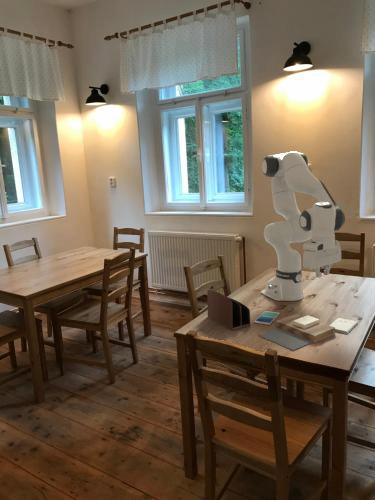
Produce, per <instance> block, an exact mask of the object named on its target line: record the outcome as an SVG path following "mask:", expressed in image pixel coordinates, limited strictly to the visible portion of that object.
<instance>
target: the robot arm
mask: <svg viewBox="0 0 375 500" xmlns="http://www.w3.org/2000/svg"><path fill="white" fill-rule="evenodd" d="M308 166H309V162H308V157H307V155H306V154H305V153H303V152H298V151H294V150H293V151H290V152H284V153H277V154H269V155H267V156H265V157H264V158H263V160H262V163H261V170H262V172H263V175H264V176H265V177H267V178H271V185H270V186H271V188H270V189H271V197H272V203H273V210H274V211H275V213H276V214H277V215H280V216H282V217H283V218H284V219H285V220H284V221H275V222H272V223H269V224H267V225H266V226H265V227H264V229H263V238H264V239H265V241H266V242H267V243H268V244H269V245H271V246H272V247H273V249H274V250H275V252H276V255H277V269H275V270H274V273H275V276H273V277H272V278H271V279H269V280H267V282H266V285H265V289H262V290H261V291H260V292H261V295H264V296H266V297H268V298H270V299H273V300H275V301H278V302H279V301H286V302H294V301H300V300H303V299H304V298H305V295H304V290H303V283H302V277H303V276H302V275H303V272H302V271H303V270H302V266H303V268H304V269H306V270H314V272H315V277H316V278H319V279H320V278H322V276H323V275H324V276H328V275H330V270H331V268H332V265H333V264H335V263H339V262H341V260H342V247H341V245H340V241H339V240H337V239H336V233H335V232H337V231H339V230H341V228H342V227H344V225H345V222H346V216H345V212H344V211H343V210H342V209H341V207H339V205H338V204H337V203H336V201H335V200H334V198H333V196H332V195H331V194H330V192H329V190H328V188H327V187H326V186H325V184H324V183H323V181H322V180H321V179H319V178H317V177H316V176H315V175H314V174H313V173H312V172H311V171H310V169H309V167H308ZM296 192H297V193H301V194H306V195H310V196H312V197H314V198H316V199H317V200H318V202H316V203H314V204H313V206H312V207H310V208H308V209H304V210H303V211H302V212H301V211H300V209H299V207H298V203H297V202H298V201H297V199H296ZM293 243H294V244H295V243H304V244H303V245H302V248H303V250H304V251H303V255H302V256H301V254H300V253H299V252H298V251H297V250H295V249H293V248H292V247H291V244H293ZM321 267H325V269H324V270H323V273H322V272H321V271H320V270H321ZM274 273H273V274H274Z"/></svg>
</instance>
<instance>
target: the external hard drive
mask: <svg viewBox="0 0 375 500" xmlns="http://www.w3.org/2000/svg"><path fill="white" fill-rule="evenodd" d="M358 324H359V323H358V321H357V320H352V319H346V318H341V317H337V318H336V319H335V320H334V321H333V322H332V323H330V325H329V326H332V327H335V333H342V334H345V335H348V334H349V333H350V332H351V331H352V330H353V329H354V328H355V327H356V326H357V325H358Z"/></svg>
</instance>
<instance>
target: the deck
mask: <svg viewBox="0 0 375 500" xmlns="http://www.w3.org/2000/svg"><path fill="white" fill-rule="evenodd" d="M302 317H304V316H303V315H300V314H297V313H294V314H291V315H288V316H286V317H283V318H280V319H277V320H275V328H280V329H283V330H285V331H288V332H290V333H293V334H295V335H298V336H300V337H303V338H305V339H308V340H310V341H313V343H314V344H317V343H319V342H321V341H323V340H326V339H328V338H330V337H332V336H335V335H336V331H335V327H332V326H330V325H328V324H327V323H324V322H320V321H319V323H318V324H315V325H313V326H310V327H308V328H305V329H304V328H302V327H299V326H296V325H294V324H293V321H294V320H296V319H299V318H302ZM313 343H312V344H313Z"/></svg>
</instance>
